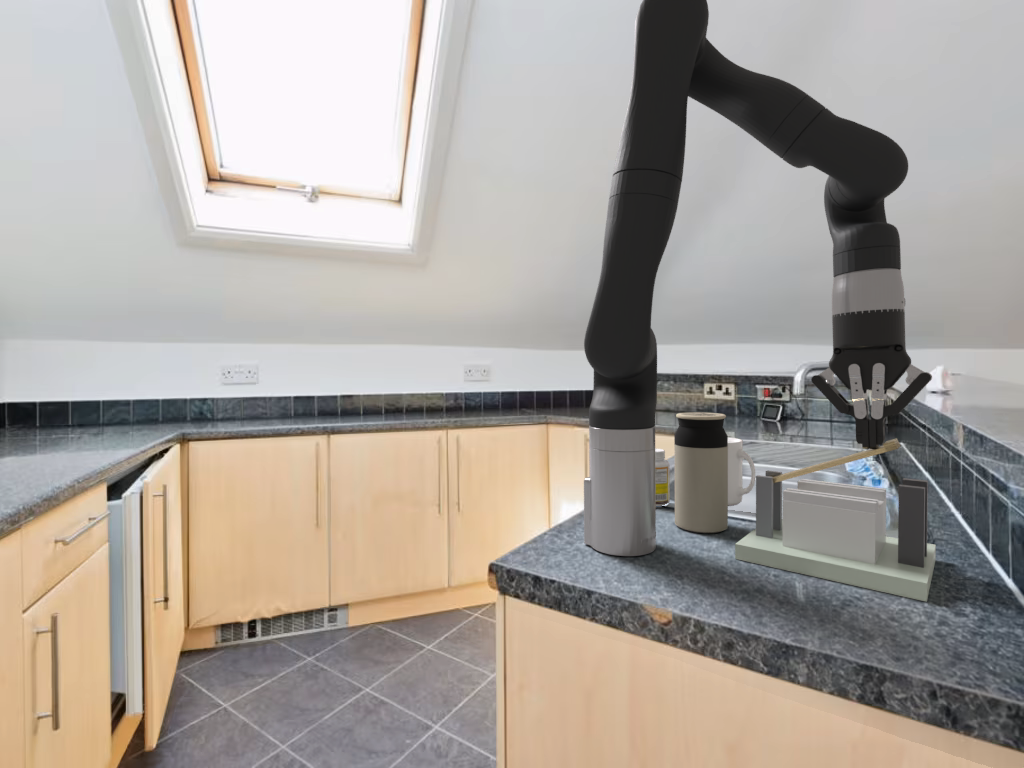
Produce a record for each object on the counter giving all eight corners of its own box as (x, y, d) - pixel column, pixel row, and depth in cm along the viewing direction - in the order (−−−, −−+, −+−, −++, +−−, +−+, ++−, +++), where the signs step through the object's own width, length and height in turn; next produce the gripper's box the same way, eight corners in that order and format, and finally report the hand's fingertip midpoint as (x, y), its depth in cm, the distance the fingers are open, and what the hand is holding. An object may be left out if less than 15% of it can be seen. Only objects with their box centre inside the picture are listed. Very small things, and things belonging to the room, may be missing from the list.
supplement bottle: (646, 499, 102) (646, 446, 101) (674, 503, 98) (674, 449, 98) (633, 505, 97) (633, 450, 97) (662, 510, 94) (661, 453, 94)
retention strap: (763, 488, 73) (759, 479, 73) (770, 484, 75) (766, 475, 76) (899, 451, 63) (893, 440, 63) (901, 448, 65) (896, 438, 65)
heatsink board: (735, 558, 70) (735, 475, 69) (770, 530, 82) (770, 458, 81) (926, 601, 56) (928, 498, 56) (935, 559, 68) (936, 474, 68)
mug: (696, 492, 107) (696, 435, 106) (761, 500, 100) (761, 439, 100) (683, 502, 99) (683, 441, 98) (752, 511, 92) (752, 445, 92)
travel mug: (713, 538, 78) (713, 417, 78) (665, 526, 84) (664, 414, 83) (736, 526, 84) (736, 413, 83) (689, 516, 89) (689, 411, 89)
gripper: (800, 314, 67) (804, 448, 68) (932, 301, 59) (936, 456, 59) (814, 317, 73) (817, 441, 73) (936, 306, 64) (940, 447, 64)
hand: (870, 448), depth 66 cm, fingers closed
